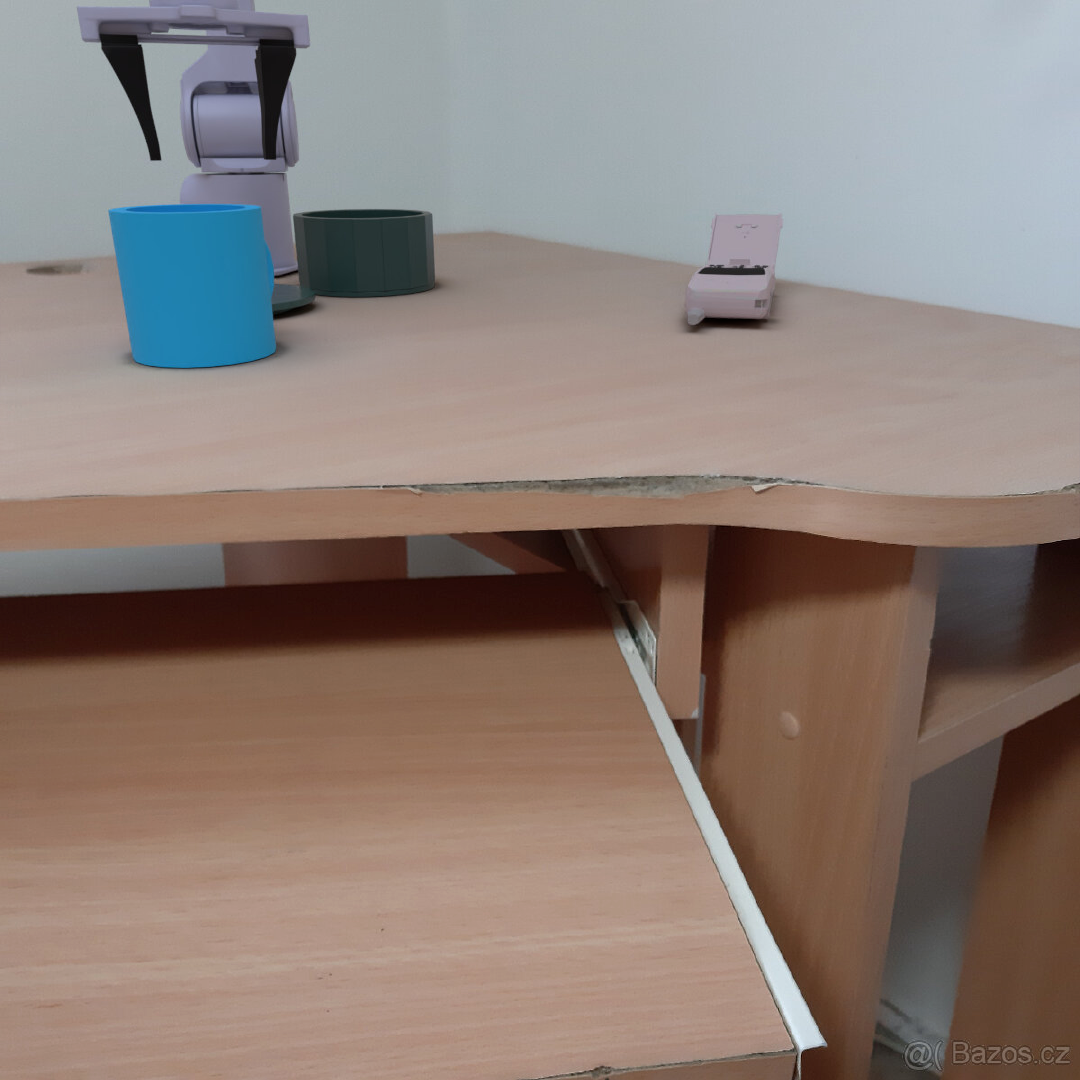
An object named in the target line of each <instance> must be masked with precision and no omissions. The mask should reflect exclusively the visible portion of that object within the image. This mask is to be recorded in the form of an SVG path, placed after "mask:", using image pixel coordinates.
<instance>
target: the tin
mask: <svg viewBox="0 0 1080 1080" xmlns="http://www.w3.org/2000/svg"><path fill="white" fill-rule="evenodd" d="M433 219H434V217H433V213H432V212H430V211H427V210H419V209H418V210H417V209H403V208H402V209H401V208H355V209H354V208H352V209H351V208H349V209H348V208H346V209H324V210H312V211H302V212H297V213H296V212H295V213H293V215H292V220H293V222H292V223H293V232H294V242H295V243H294V244H295V251H296V261H297V264H298V270H297V272H298V284H299V286H302V287H307V288H310V289H312V290H314V291H315V296H316V295H317V296H326V297H339V298H372V297H375V298H376V297H392V296H402V295H403V296H404V295H409V294H415V293H422V292H426V291H428V290H431V289H433V288H434V287H435V282H436V268H435V266H436V265H435V245H434V244H435V242H434V220H433Z"/></svg>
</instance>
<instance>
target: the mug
mask: <svg viewBox="0 0 1080 1080" xmlns="http://www.w3.org/2000/svg"><path fill="white" fill-rule="evenodd" d="M107 212H108V218H109V224H110V230H111V236H112V241H113V247H114V248H113V249H114V254H115V260H116V264H117V272H118V278H119V283H120V289H121V295H122V301H123V307H124V313H125V319H126V326H127V331H128V337H129V343H130V349H131V356H132V359H133V360H134V362H135V363H139V364H141V365H145V366H151V367H158V368H177V369H179V368H181V369H190V368H210V367H211V368H212V367H221V366H230V365H238V364H242V363H243V364H244V363H249V362H253V361H257V360H260V359H263V358H267V357H269V356H271V355H272V354H274V353H276V350H277V342H276V334H275V331H276V330H275V324H274V323H275V322H274V315H273V313H272V304H271V298H272V293H273V288H274V284H275V276H274V266H273V262H272V257H271V252H270V250H269V248H268V246H267V243H266V241H265V239H264V229H263V220H262V211H261V207H260V206H256V205H243V204H180V203H178V204H173V203H172V204H151V205H150V204H149V205H148V204H147V205H134V206H133V205H132V206H123V207H116V208H111V209H108V210H107Z"/></svg>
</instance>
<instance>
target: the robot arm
mask: <svg viewBox="0 0 1080 1080" xmlns="http://www.w3.org/2000/svg"><path fill="white" fill-rule="evenodd" d="M148 3H149V6H89V5H88V6H87V5H86V6H85V5H83V6H82V5H77V6H76V12H77V18H78V23H79V30H80V35H81V39H82V41H83V42H84V43H94V44H95V43H97V44H99V43H100V46H101V47H100V49H101V51H102V53H103V54H104V56H105V58H106V60H107V61H108V63H109V65H110V67H111V68H112V70H113V72H114V73H115V75H116V77H117V79H118V81H119V83H120V85H121V87H122V88H123V90H124V93H125V95H126V96H127V98H128V101H129V102H130V105H131V107H132V109H133V112H134V115H135V116H136V118H137V121H138V123H139V126H140V130H141V131H142V134H143V138H144V140H145V143H146V147H147V151H148V154H149V160H150V161H151V162H154V161H155V162H156V161H157V162H160V161H161V162H162V154H161V153H162V152H161V146H160V142H159V137H158V132H157V128H156V124H155V119H154V115H153V111H152V110H153V109H152V105H151V104H152V103H151V99H150V91H149V84H148V77H147V76H148V75H147V70H146V63H145V57H144V56H145V55H144V48H143V46H142V45H143V44H169V45H170V44H172V45H173V44H176V45H203V46H204V45H206V46H207V49H206V51H205V52H204V53H203V54H202V55H200V56H199V57H198V58H197V59H196V60H195V61H194V62H193V63H192V64H190V65H189V66H188V67H187V68H185V70H183V72H182V73H181V79H180V80H179V85H180V104H179V116H180V117H179V119H180V127H181V134H182V135H181V136H182V140H183V146H184V149H185V153H186V157H187V159H188V160H189V162H191V164H193V165H194V167H195V168H200V169H201V173H199V172H197V173H196V172H195V173H191V174H189V175H187V176H186V177H184V180H183V181H182V183H181V187H180V192H179V204H243V205H256V206H260V207H261V211H262V220H263V229H264V239H265V241H266V243H267V246H268V248H269V250H270V252H271V257H272V262H273V266H274V277H275V276H283V275H285V274H288V273H291V272H295V271H298V264H297V260H296V258H295V257H296V256H295V246H294V238H293V226H292V217H291V205H290V196H289V195H290V194H289V185H288V184H289V183H288V175H287V173H286V172H288V171H289V168H294V167H295V166H296V164H297V163H298V162H299V161H300V146H299V145H300V144H299V132H298V131H299V130H298V122H297V113H296V105H295V101H294V95H293V94H294V93H293V86H292V83H291V81H290V77H291V73H292V71H293V67H294V64H295V63H296V58H297V49H308V48H309V47H310V46H311V39H310V27H309V26H310V25H309V17H308V15H307V14H295V13H293V14H291V13H278V12H267V11H256V5H255V0H148ZM170 29H171V30H183V31H185V30H186V31H205V34H206V35H197V34H193V35H192V34H168V33H169V31H170ZM166 33H167V34H166Z"/></svg>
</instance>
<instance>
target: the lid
mask: <svg viewBox="0 0 1080 1080" xmlns="http://www.w3.org/2000/svg"><path fill="white" fill-rule="evenodd" d="M315 300H316V295H315V291H314V290H312V289H310V288H307V287H302V286H300V285H296V284H287V283H274V288H273V293H272V298H271V304H272V313H273V316H275V315H279V314H283V313H287V312H289V311H291V310H292V309H294V308H299V307H302V306H305V305H309V304H311V303H313V302H314V301H315Z"/></svg>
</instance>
